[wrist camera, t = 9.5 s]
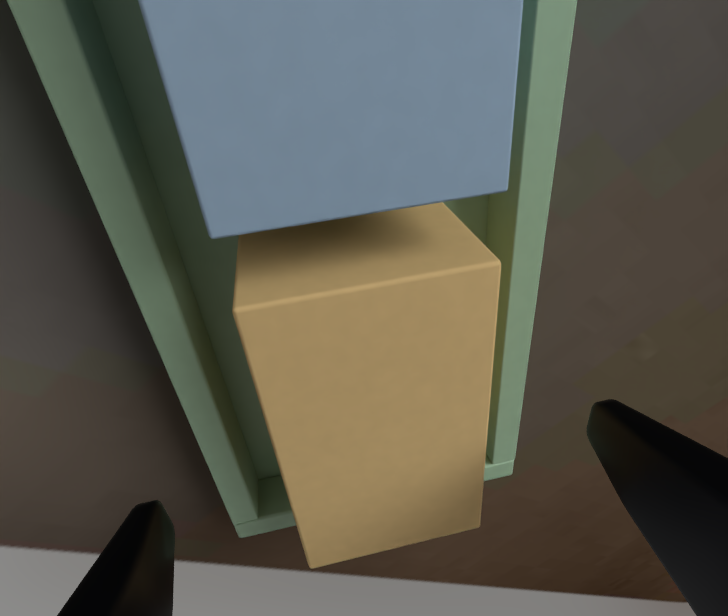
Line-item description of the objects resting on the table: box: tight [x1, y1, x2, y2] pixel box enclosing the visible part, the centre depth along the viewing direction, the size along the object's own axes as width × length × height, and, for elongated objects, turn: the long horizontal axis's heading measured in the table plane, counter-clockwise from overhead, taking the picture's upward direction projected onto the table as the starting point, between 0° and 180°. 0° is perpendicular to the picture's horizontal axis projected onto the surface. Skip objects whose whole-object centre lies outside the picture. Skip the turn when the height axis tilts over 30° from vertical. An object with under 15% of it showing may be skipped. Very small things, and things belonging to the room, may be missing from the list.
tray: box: [7, 0, 577, 538], centre depth 10 cm, size 21×9×2 cm, turn 5°
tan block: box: [232, 202, 501, 568], centre depth 11 cm, size 8×5×4 cm, turn 5°
